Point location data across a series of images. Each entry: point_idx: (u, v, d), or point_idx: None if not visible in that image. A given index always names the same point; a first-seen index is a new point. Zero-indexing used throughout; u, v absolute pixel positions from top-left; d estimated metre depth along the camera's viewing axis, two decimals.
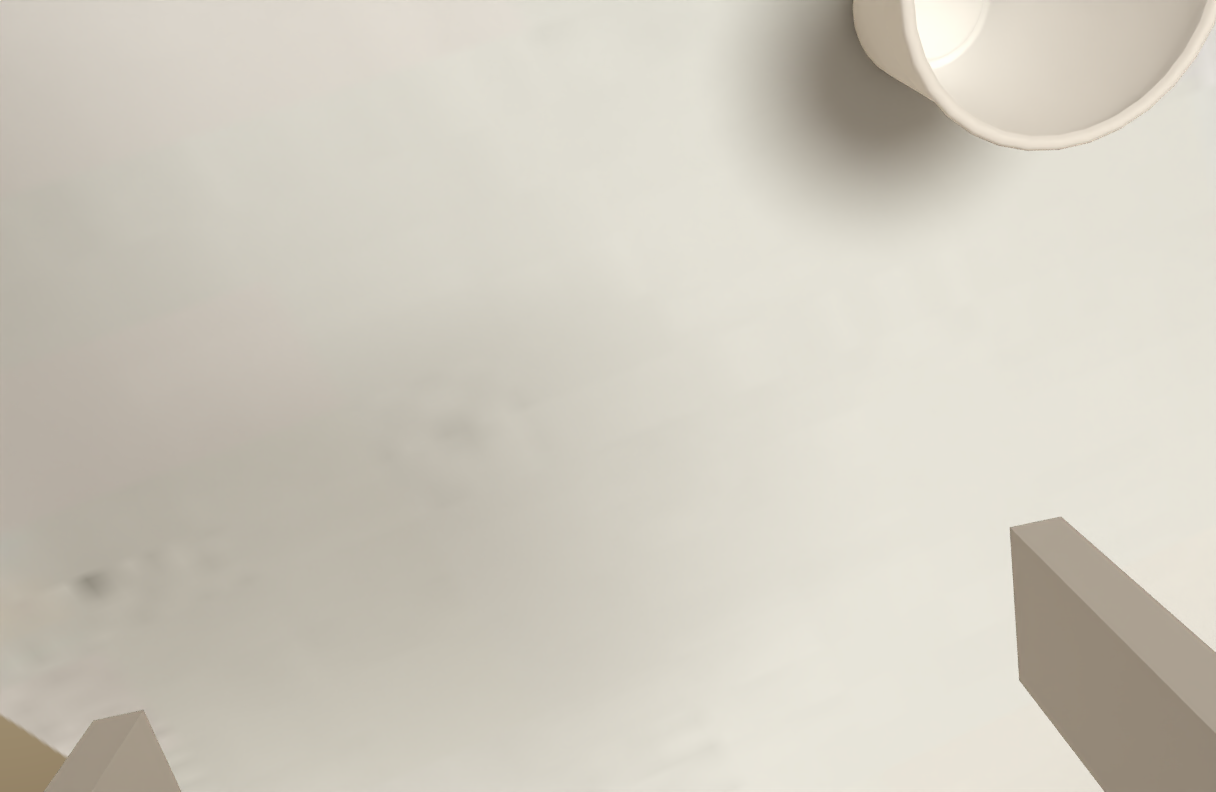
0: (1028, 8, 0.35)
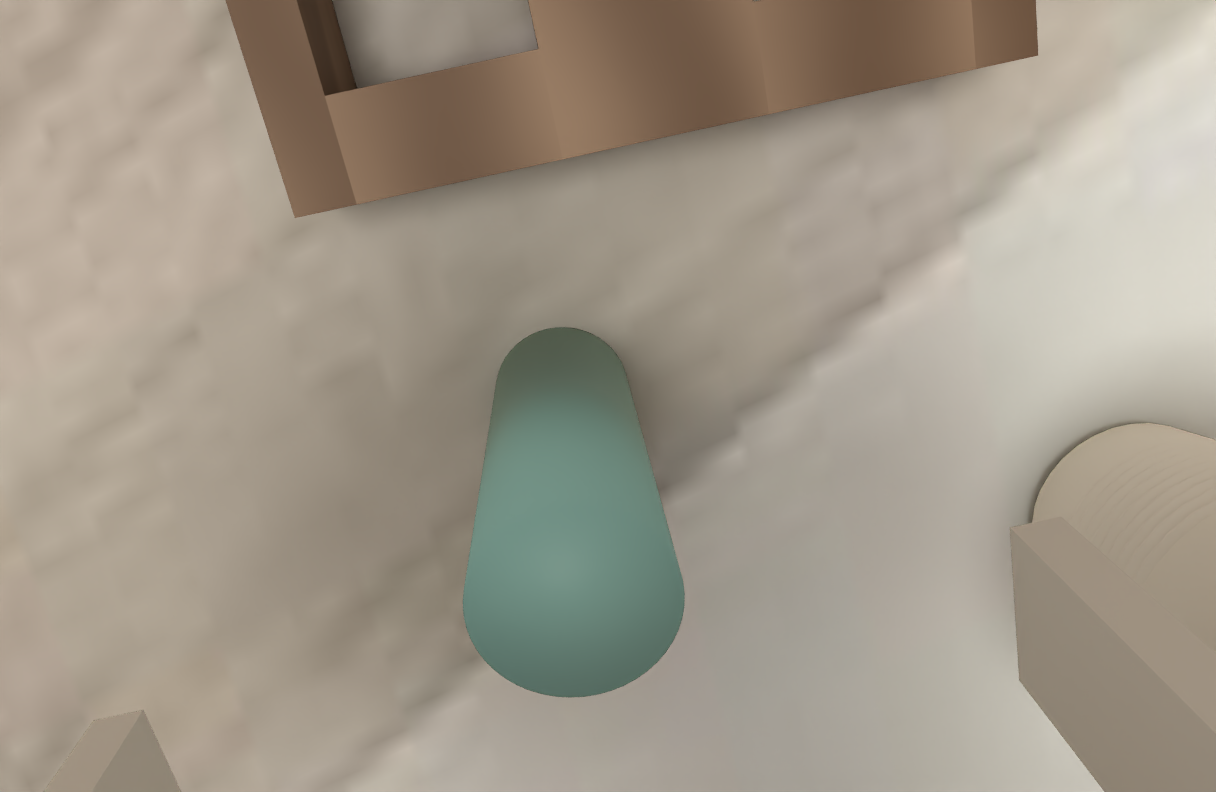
0: None
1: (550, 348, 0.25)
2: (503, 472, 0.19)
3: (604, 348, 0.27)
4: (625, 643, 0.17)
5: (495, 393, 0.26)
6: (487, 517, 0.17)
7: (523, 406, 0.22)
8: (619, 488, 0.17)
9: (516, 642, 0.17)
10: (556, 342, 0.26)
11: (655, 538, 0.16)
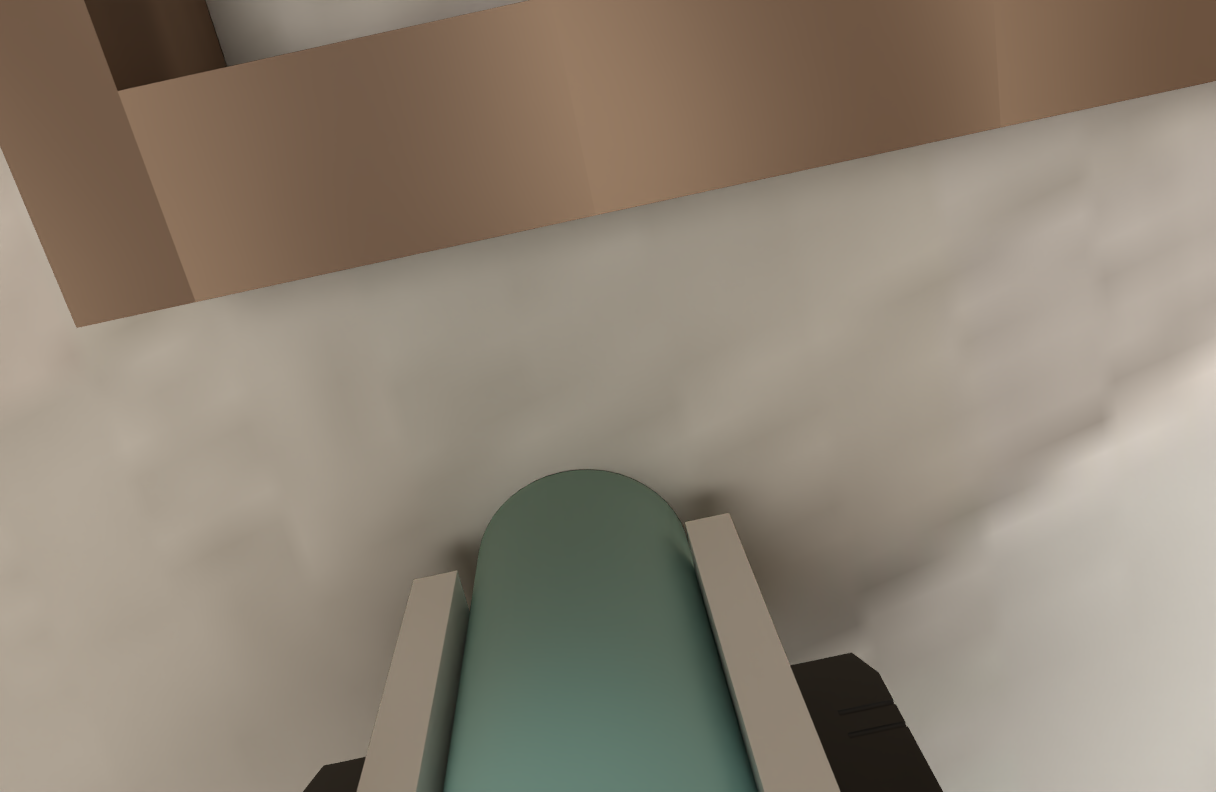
0: None
1: (567, 527, 0.15)
2: None
3: (656, 509, 0.16)
4: None
5: (473, 597, 0.15)
6: None
7: (517, 705, 0.11)
8: None
9: None
10: (577, 510, 0.15)
11: None
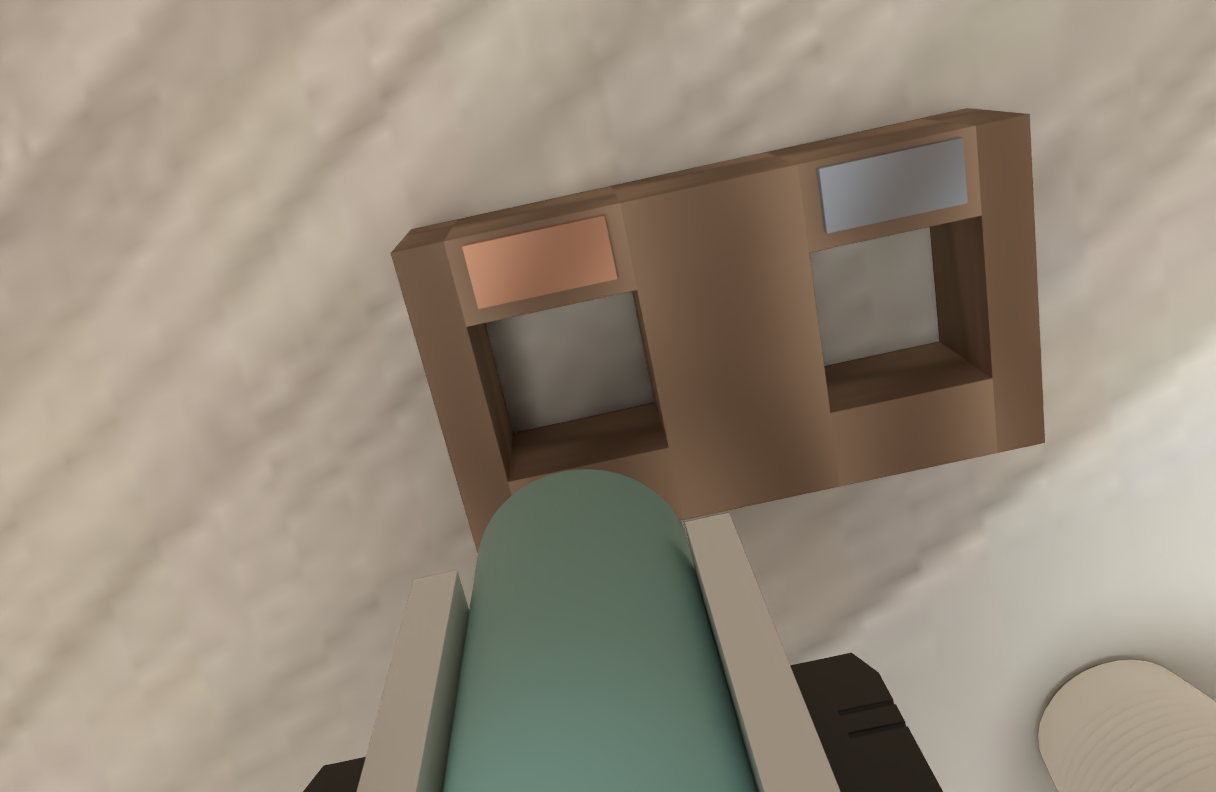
0: None
1: (567, 527, 0.15)
2: None
3: (655, 509, 0.16)
4: None
5: (473, 597, 0.15)
6: None
7: (517, 705, 0.11)
8: None
9: None
10: (577, 509, 0.15)
11: None
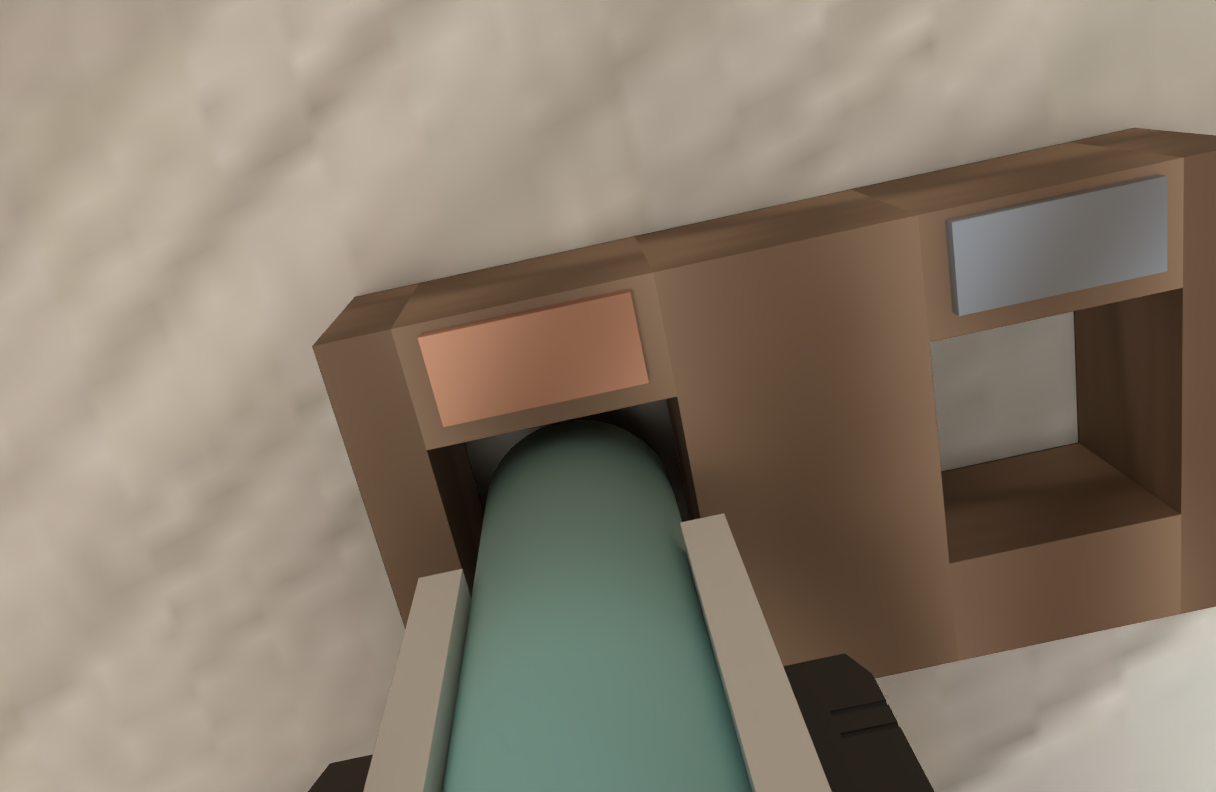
0: None
1: (565, 464, 0.17)
2: (484, 767, 0.10)
3: (642, 453, 0.18)
4: None
5: (483, 527, 0.17)
6: None
7: (523, 594, 0.13)
8: None
9: None
10: (573, 450, 0.17)
11: None
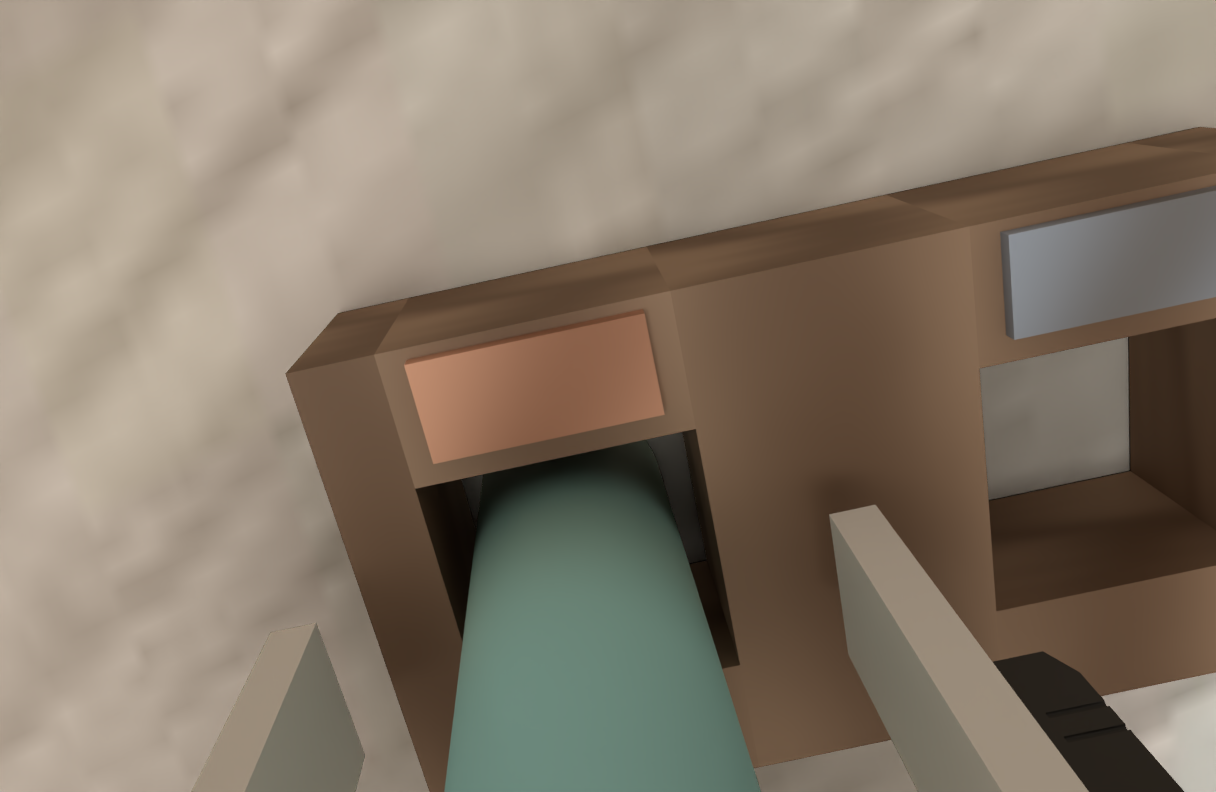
0: None
1: None
2: (491, 712, 0.11)
3: None
4: None
5: (481, 506, 0.18)
6: None
7: (522, 561, 0.14)
8: (694, 778, 0.10)
9: None
10: None
11: None
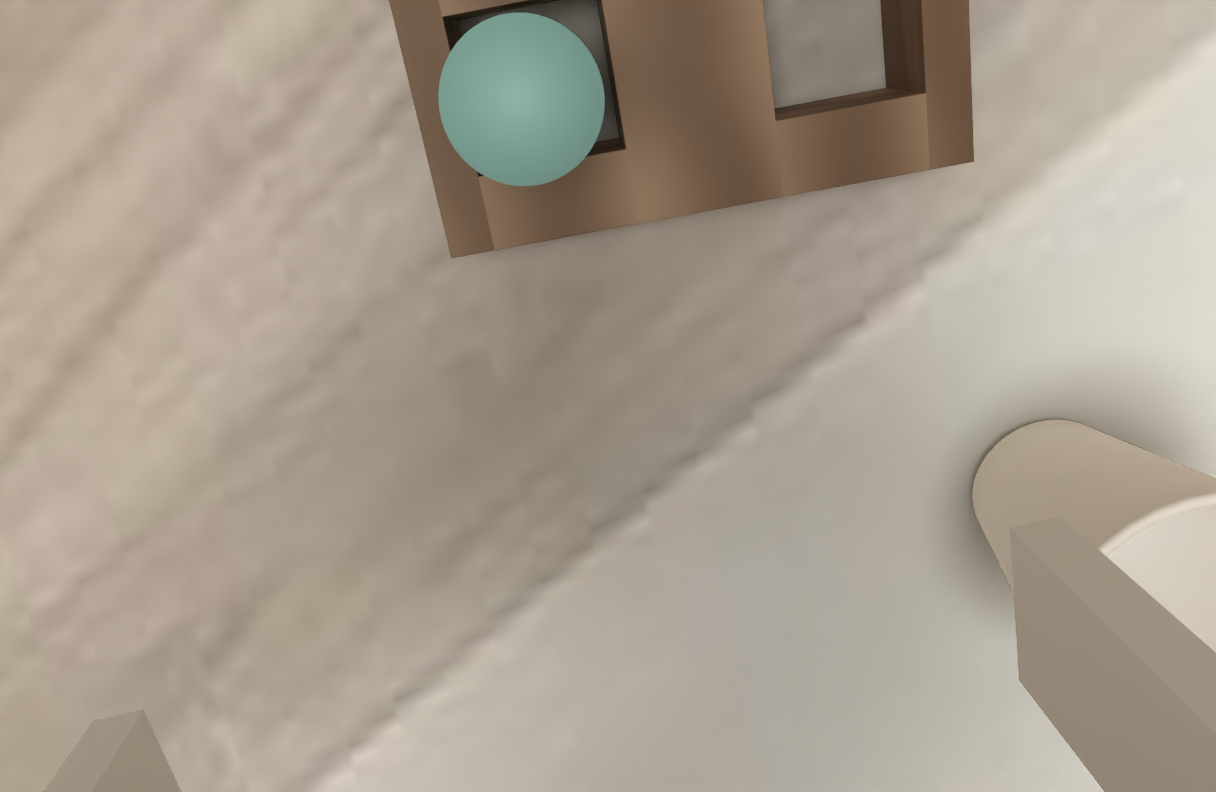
0: None
1: None
2: None
3: None
4: (560, 140, 0.23)
5: None
6: None
7: None
8: None
9: (478, 133, 0.22)
10: None
11: (582, 48, 0.22)
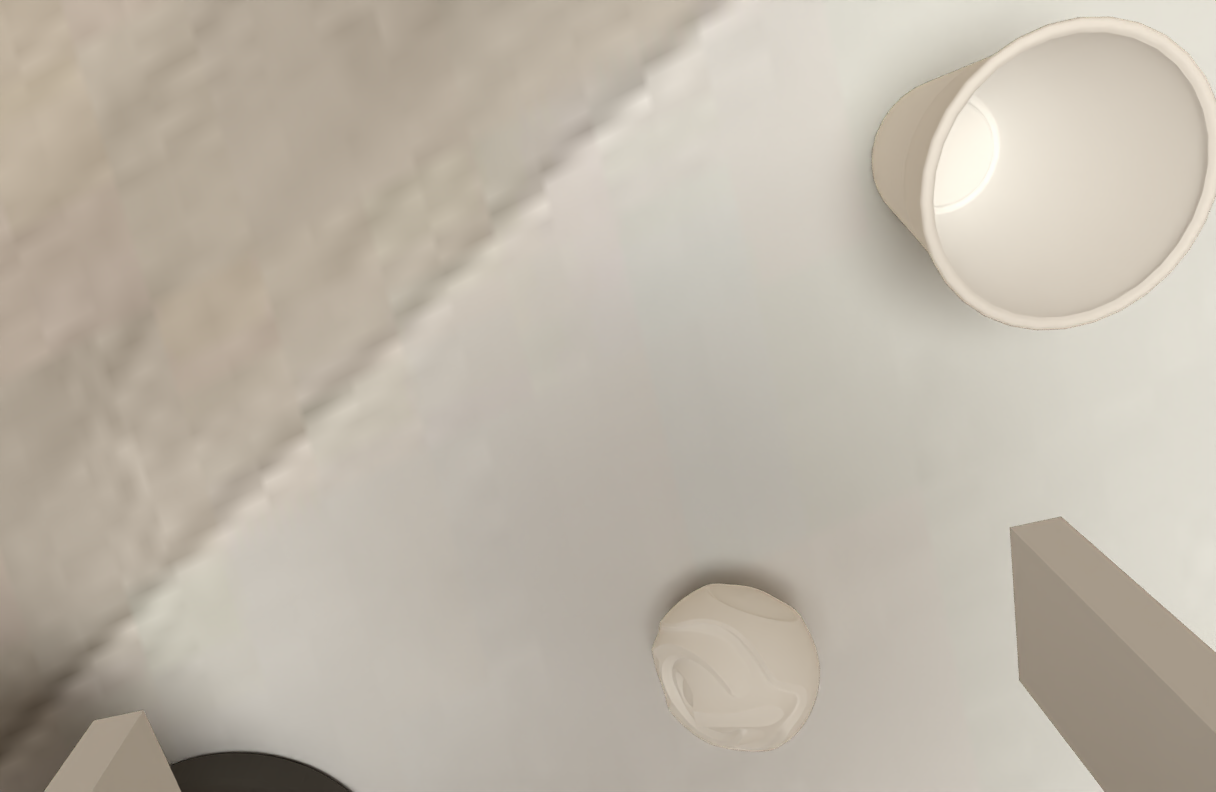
0: None
1: None
2: None
3: None
4: None
5: None
6: None
7: None
8: None
9: None
10: None
11: None
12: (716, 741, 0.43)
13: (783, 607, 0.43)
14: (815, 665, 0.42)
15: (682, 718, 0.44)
